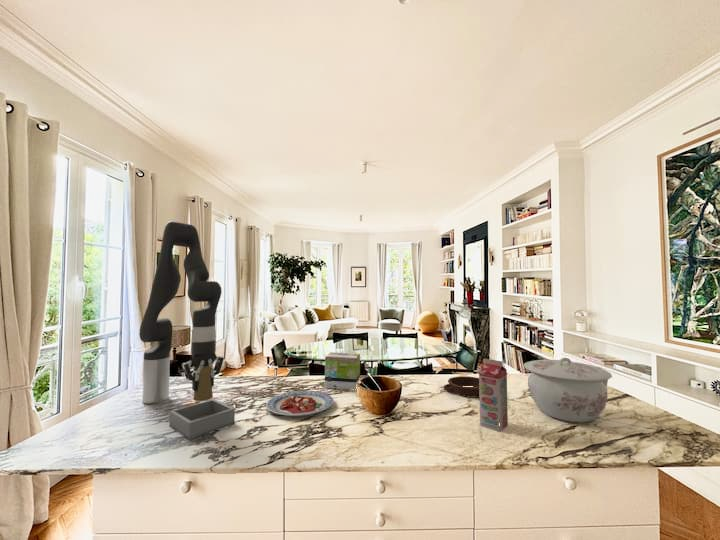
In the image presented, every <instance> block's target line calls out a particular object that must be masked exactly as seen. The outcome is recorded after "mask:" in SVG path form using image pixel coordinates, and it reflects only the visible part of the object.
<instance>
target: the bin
mask: <svg viewBox="0 0 720 540" xmlns="http://www.w3.org/2000/svg"><path fill="white" fill-rule="evenodd" d="M178 408H179V409H178ZM178 408H177V409H172V410H170V411H169V425H168V426H169V427H170V428H171V429H172V430H174V431H176V432H177V433H179V434H180V435H182V436H183V437H184V438H186V439H187V440H192V439H195V438H199V437H200V436H203V435H206V434H209V433H212V432H215V431H218V430H220V429H223V428H226V427H229V426H232V425H234V424H235V414H236V413H235V412H236V410H235V407H233V406H230V405H228V404H226V403H223V402H221V401H219V400H217V399H215V398H211V399H208V400H205V401H200V403H197V404H194V405H190V406H186V407H183V408H180V407H178ZM231 424H232V425H231Z"/></svg>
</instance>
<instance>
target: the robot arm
mask: <svg viewBox="0 0 720 540" xmlns="http://www.w3.org/2000/svg"><path fill="white" fill-rule="evenodd" d="M175 246H177V247H181V248H182V247H183V248H188V249H189V251H188V254H186V256H185V258H184V260H183V269H184V273H185V275H186V277H187V297H188V298H189V300H190V301H192V302H195V303H201V302H202V303H204V302H205V303H206V304H205V306H204V307H201V308H197V309H195V310H193V311H192V331H191V354H190V355H191V357H190V359H189V360H188V361H186V362H182V363H181V368H182V370H183V373H184V376H185V379H186V380H188V381H192V383H191V386H192V387H191V389H192V391H193V392H197V391H198V386H199V381H198V379H199V374H200V370H201V369H202V367H203V366H210V367H211V368H212V372H211V374H210V378H211V386H212V387H214V383H215V376H217V375H220V372H221V369H222V366H223V364H224V361H225V358H224V357H223V356H221V355H219V356H218V355H217V354H216V351H217V350H216V349H217V330H216V329H217V328H216V315H217V309H218V306H219V302H220V299H221V296H222V287H221V284H220V283H219V282H218V281H212V280H210V281H209V278H210V273H209V270H208V268H207V265H206V263H205V261H204V258H203V253H202V248H201V241H200V236H199V233H198V229H197V228H196V226H194V225H193V224H189V223H185V222H178V221H173V220H172V221H171V220H170V221H168V222H166V224H165V227H164V229H163V234H162V239H161V245H160V252H159V258H158V263H157V266H156V270H155V273H154V277H153V281H152V285H151V289H150V293H149V294H150V295H149V300H148V302H147V306H146V308H145V312H144V315H143V317H142V320H141V323H140V327H139V333H138V335H139V340H140V341H141V342H142V343H155V342H157V343H156V344H155V345H154V346H153V347H152V348H149V349H147V350H146V351H145V352H143V373H142V374H143V377H142V403H143V404H156V403H160V402H161V403H163V402H164V401H166V400H168V399H169V396H170V371H171V370H170V367H171V366H170V365H171V363H170V362H171V350H172V345H173V344H172V343H173V342H172V340H173V332H174V331H173V328H174V327H173V324H172V321H171V320H170V318H159V316H160V314H161V313H162V311H163V310H164V308H166V307H167V306H168V305H169V303H170V302H172V300H173V299H174V298H175V297H176V296H177V294H178V292H179V289H180V283H181V280H182V277H181V273H180V271H179V269H178V266H177V264H176V262H175V260H174V254H173V253H174V252H173V250H174V247H175ZM213 365H214V366H213ZM191 366H193V369H192V371H191ZM196 369H198V370H197V371H195V370H196Z"/></svg>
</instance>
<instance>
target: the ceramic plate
mask: <svg viewBox="0 0 720 540" xmlns="http://www.w3.org/2000/svg"><path fill="white" fill-rule="evenodd" d="M333 404H334V398H333V397H332V396H331V395H330V394H327V393H324V392H322V391H316V390H295V391H288V392H285V393H280V394H278V395H275V396H273V397H271V398H270V399H268V401H266V404H265V407H266V409H267V410H268V411H270V412H271V413H274V414H276V415H281V416H287V417H288V416H290V417H291V416H292V417H293V416H294V417H295V416H296V417H298V416H308V415H313V414H316V413H320V412H323V411H325V410H327V409H329V408H330V407H331V406H332V405H333Z"/></svg>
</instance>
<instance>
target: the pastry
mask: <svg viewBox="0 0 720 540" xmlns="http://www.w3.org/2000/svg"><path fill="white" fill-rule="evenodd" d="M197 403H201V401H194V402H190V403H186V404H184V405H182V406H179V407H178V408H177V409H179V408H183V407H186V406H190V405H194V404H197Z"/></svg>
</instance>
